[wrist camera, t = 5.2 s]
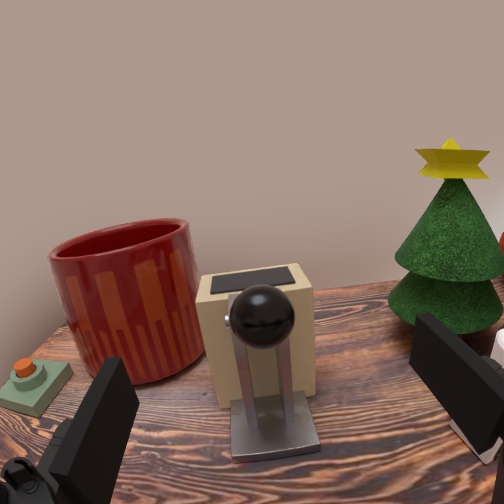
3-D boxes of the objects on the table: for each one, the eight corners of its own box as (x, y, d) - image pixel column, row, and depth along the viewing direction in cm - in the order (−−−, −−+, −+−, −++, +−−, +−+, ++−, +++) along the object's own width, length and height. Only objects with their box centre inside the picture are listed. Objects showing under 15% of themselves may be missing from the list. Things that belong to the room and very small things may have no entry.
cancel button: (28, 380, 35) (23, 370, 35) (14, 377, 36) (10, 368, 35) (39, 367, 39) (35, 358, 38) (25, 365, 39) (21, 356, 39)
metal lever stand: (320, 451, 27) (321, 324, 23) (233, 463, 27) (201, 341, 23) (299, 383, 39) (292, 271, 34) (231, 392, 39) (209, 282, 34)
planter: (207, 310, 63) (190, 211, 58) (216, 380, 41) (188, 239, 36) (102, 326, 60) (76, 232, 54) (70, 394, 38) (20, 269, 33)
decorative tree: (393, 377, 36) (400, 131, 28) (379, 310, 54) (376, 139, 46) (511, 362, 31) (540, 140, 23) (471, 304, 49) (478, 141, 40)
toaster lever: (304, 346, 15) (294, 276, 16) (232, 357, 15) (222, 285, 16) (278, 333, 30) (273, 297, 31) (241, 338, 30) (236, 301, 31)
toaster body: (315, 395, 36) (312, 284, 32) (219, 409, 36) (194, 299, 31) (303, 360, 44) (297, 260, 39) (220, 371, 43) (201, 273, 39)
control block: (39, 418, 32) (26, 397, 31) (0, 406, 33) (-12, 386, 32) (73, 373, 44) (64, 353, 43) (34, 368, 44) (26, 349, 43)
